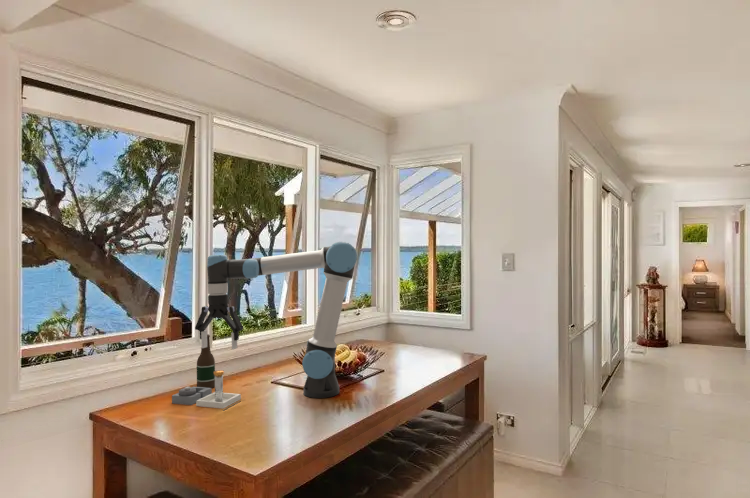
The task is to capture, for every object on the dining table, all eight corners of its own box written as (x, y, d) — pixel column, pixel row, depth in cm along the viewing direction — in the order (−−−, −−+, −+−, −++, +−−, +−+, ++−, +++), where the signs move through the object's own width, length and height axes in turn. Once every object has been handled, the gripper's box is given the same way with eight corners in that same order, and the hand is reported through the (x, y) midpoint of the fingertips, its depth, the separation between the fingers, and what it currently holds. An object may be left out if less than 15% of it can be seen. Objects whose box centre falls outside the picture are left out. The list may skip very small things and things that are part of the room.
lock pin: (226, 401, 193) (225, 370, 193) (220, 404, 189) (220, 372, 189) (217, 400, 194) (217, 369, 194) (211, 403, 190) (211, 372, 190)
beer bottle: (209, 392, 208) (209, 336, 208) (193, 391, 210) (192, 336, 210) (218, 387, 216) (218, 333, 216) (202, 386, 217) (202, 333, 217)
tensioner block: (193, 396, 203) (193, 380, 203) (211, 397, 201) (211, 381, 201) (172, 405, 191) (171, 388, 191) (191, 407, 188) (191, 390, 188)
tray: (240, 401, 195) (240, 394, 195) (223, 411, 184) (223, 403, 184) (214, 399, 199) (214, 391, 199) (196, 408, 187) (196, 400, 187)
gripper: (251, 293, 191) (252, 347, 191) (196, 293, 198) (198, 345, 198) (240, 295, 184) (242, 351, 184) (184, 295, 191) (186, 349, 191)
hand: (219, 348), depth 191 cm, fingers open, 13 cm apart
